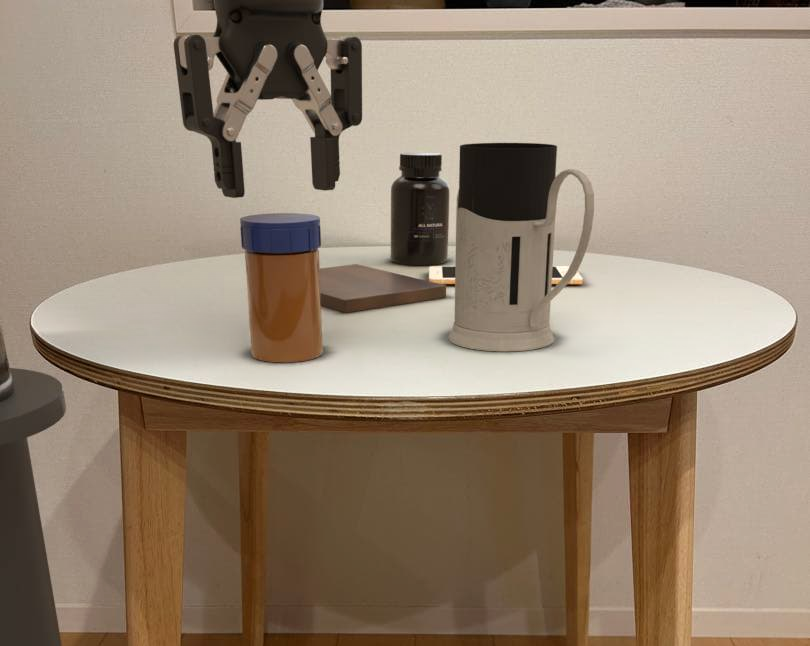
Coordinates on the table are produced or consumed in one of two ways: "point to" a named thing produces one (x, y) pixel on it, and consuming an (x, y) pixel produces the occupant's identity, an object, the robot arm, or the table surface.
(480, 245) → the glass holder
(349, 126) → the robot arm
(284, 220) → the jar lid
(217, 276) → the table surface
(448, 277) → the cell phone
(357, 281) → the serving board
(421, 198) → the supplement bottle
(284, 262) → the jar
